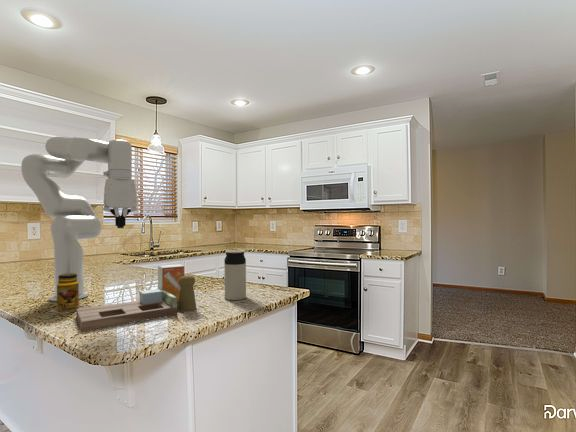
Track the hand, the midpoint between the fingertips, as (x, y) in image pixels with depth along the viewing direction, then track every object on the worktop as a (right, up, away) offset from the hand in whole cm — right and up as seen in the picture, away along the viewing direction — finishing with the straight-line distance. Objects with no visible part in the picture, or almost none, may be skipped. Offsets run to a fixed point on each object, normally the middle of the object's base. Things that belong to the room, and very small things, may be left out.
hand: (120, 227), depth 123 cm
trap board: (+9, -27, -14) cm, 31 cm away
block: (+13, -25, -6) cm, 28 cm away
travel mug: (+39, -27, +9) cm, 48 cm away
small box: (+16, -27, +5) cm, 32 cm away
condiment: (-15, -28, -6) cm, 32 cm away
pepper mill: (+25, -27, -6) cm, 37 cm away
